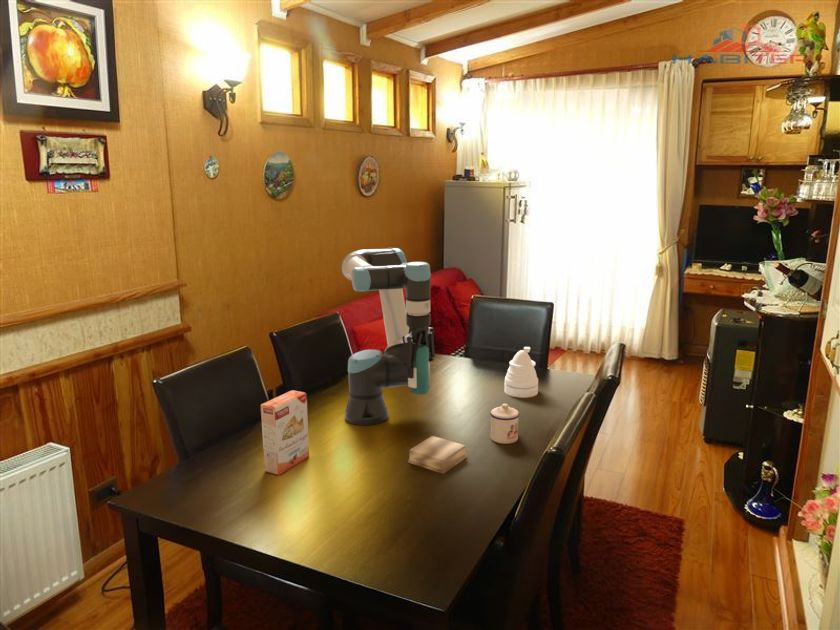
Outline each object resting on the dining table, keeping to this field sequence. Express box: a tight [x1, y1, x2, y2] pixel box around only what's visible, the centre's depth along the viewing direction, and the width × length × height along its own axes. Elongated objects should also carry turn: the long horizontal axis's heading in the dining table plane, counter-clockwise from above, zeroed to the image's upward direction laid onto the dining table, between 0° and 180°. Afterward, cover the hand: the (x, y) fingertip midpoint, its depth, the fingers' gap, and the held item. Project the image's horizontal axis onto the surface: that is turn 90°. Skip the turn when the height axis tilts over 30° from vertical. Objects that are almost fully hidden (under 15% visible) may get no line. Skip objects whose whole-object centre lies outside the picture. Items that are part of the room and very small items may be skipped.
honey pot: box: [503, 346, 539, 399], centre depth 240 cm, size 13×13×18 cm
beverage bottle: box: [408, 335, 431, 396], centre depth 196 cm, size 6×7×20 cm
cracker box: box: [260, 389, 310, 476], centre depth 183 cm, size 14×6×21 cm, turn 151°
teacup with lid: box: [490, 403, 520, 445], centre depth 201 cm, size 12×9×12 cm
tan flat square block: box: [407, 435, 467, 475], centre depth 186 cm, size 13×13×4 cm
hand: (419, 383), depth 197 cm, fingers closed on beverage bottle, 6 cm apart
